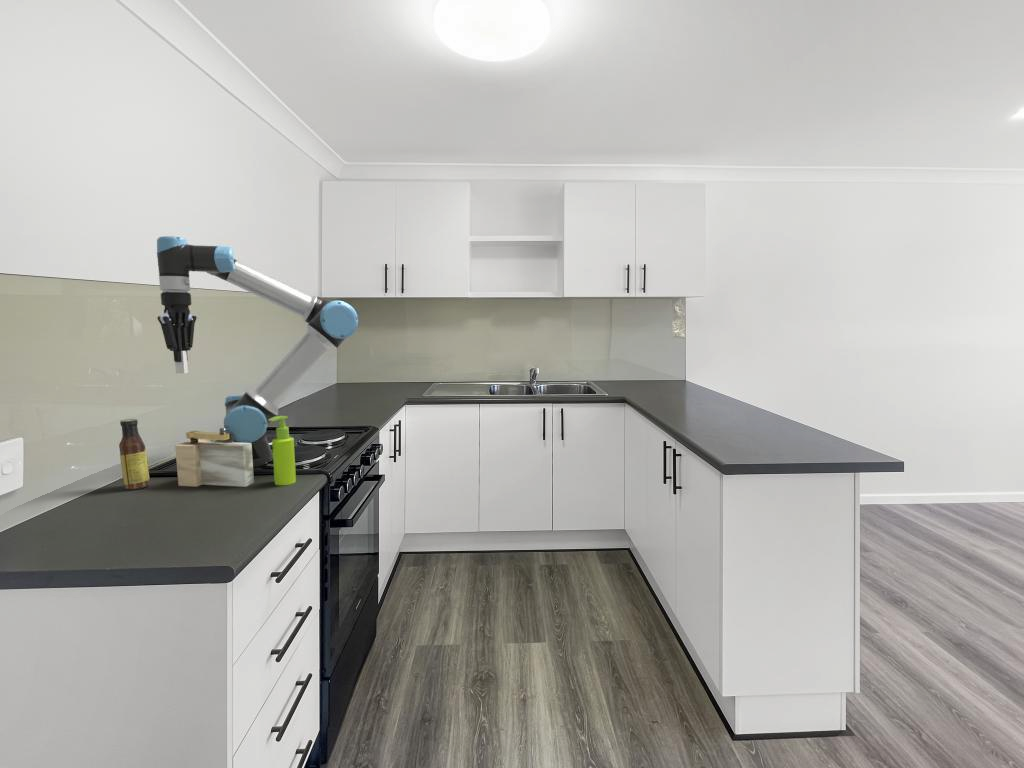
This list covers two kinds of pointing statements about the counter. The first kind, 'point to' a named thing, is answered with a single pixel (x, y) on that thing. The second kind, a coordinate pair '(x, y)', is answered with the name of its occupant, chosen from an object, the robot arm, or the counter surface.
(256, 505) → the counter surface
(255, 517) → the counter surface
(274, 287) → the robot arm
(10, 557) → the counter surface
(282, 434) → the soap dispenser
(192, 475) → the door frame
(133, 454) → the sauce bottle
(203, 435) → the swing bar
